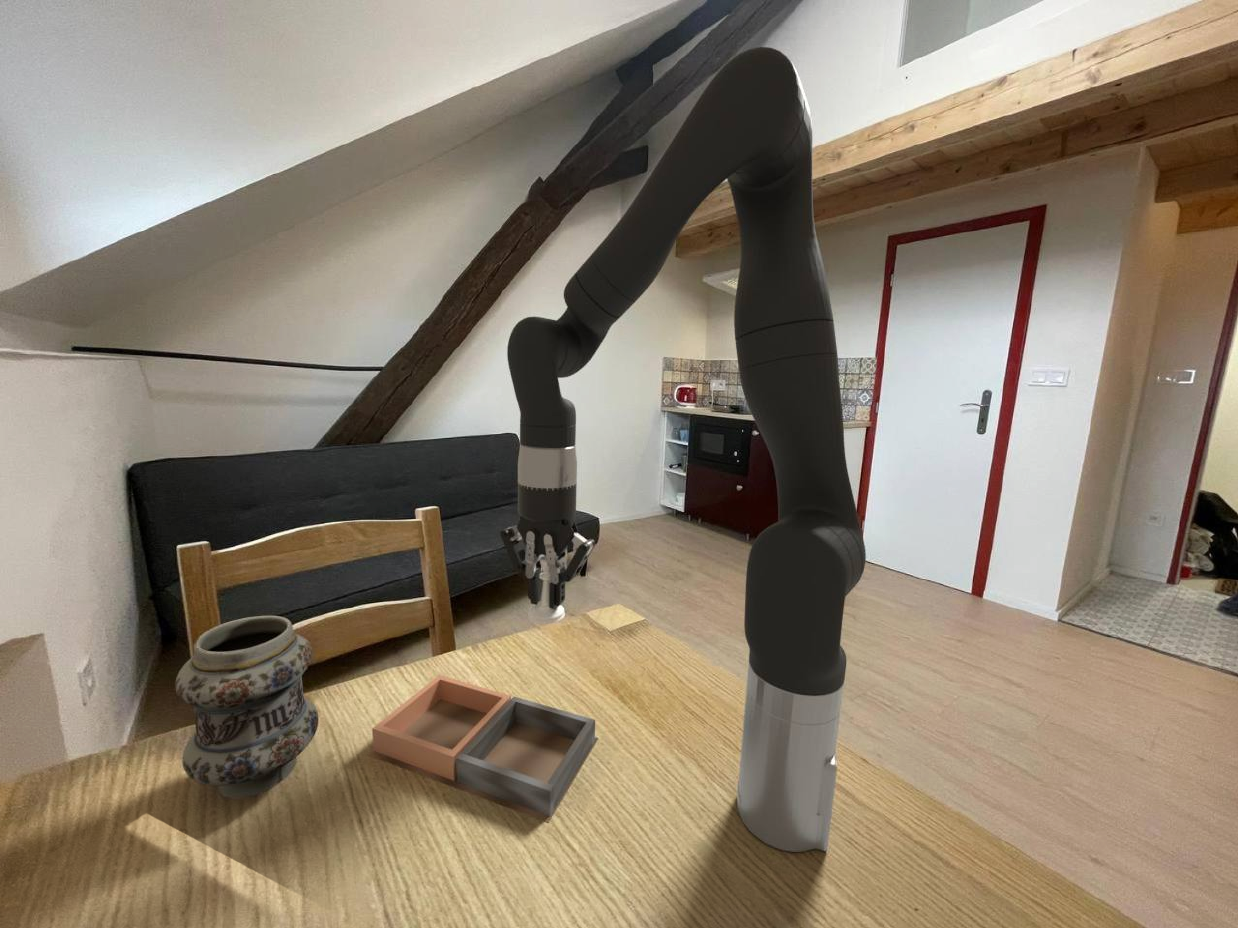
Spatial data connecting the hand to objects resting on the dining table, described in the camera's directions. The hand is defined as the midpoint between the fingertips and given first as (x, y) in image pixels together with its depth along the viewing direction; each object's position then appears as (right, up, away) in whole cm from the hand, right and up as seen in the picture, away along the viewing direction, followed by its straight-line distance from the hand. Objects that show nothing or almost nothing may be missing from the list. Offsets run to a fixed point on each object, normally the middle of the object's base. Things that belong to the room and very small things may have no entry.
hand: (546, 603), depth 68 cm
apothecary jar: (-30, -17, -11) cm, 37 cm away
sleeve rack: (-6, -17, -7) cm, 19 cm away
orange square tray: (-12, -15, -5) cm, 20 cm away
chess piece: (0, -2, 0) cm, 2 cm away
